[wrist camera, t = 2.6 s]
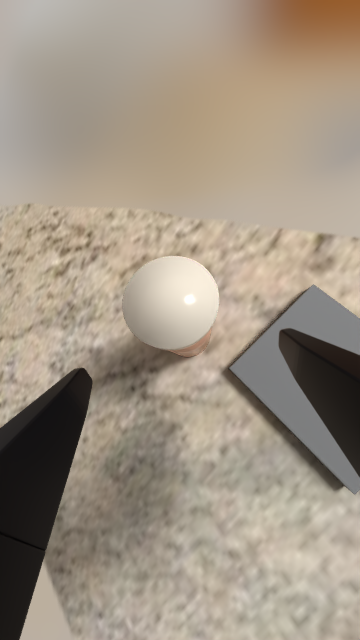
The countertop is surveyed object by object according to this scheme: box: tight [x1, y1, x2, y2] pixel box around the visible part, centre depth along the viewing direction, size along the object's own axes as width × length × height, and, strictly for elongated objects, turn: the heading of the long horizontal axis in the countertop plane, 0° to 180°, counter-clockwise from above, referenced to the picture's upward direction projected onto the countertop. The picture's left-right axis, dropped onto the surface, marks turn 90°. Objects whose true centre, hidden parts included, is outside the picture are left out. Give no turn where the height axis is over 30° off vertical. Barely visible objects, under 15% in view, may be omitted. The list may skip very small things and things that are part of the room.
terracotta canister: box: [122, 256, 219, 357], centre depth 14 cm, size 5×5×10 cm
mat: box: [229, 284, 360, 494], centre depth 16 cm, size 11×12×1 cm
